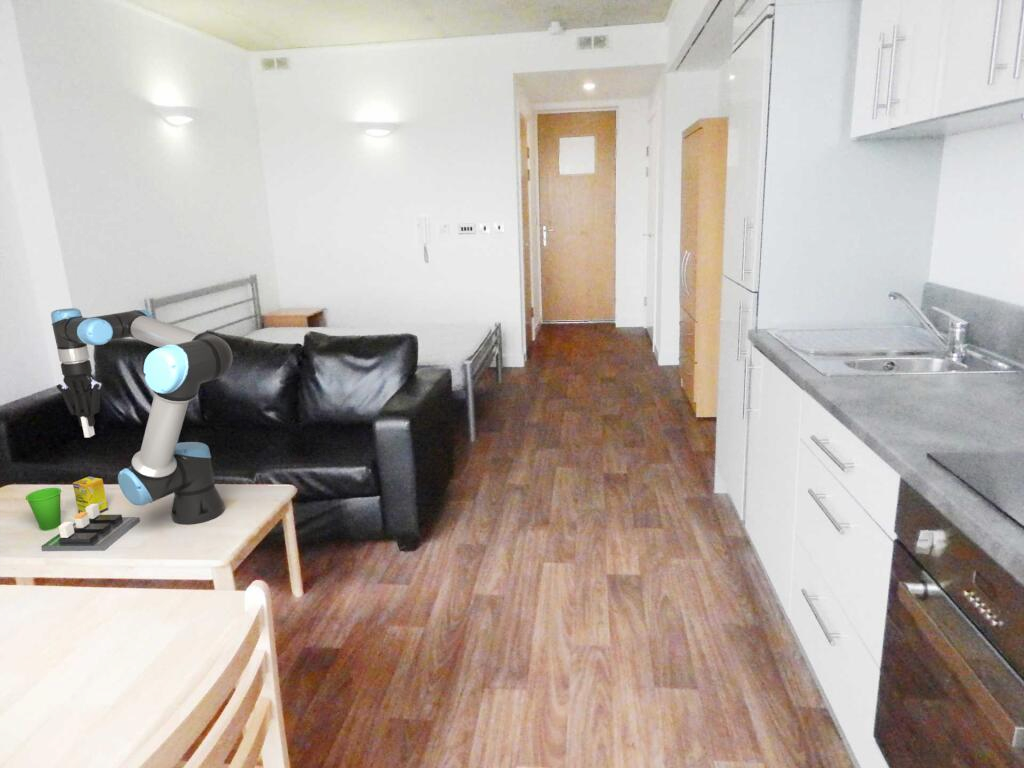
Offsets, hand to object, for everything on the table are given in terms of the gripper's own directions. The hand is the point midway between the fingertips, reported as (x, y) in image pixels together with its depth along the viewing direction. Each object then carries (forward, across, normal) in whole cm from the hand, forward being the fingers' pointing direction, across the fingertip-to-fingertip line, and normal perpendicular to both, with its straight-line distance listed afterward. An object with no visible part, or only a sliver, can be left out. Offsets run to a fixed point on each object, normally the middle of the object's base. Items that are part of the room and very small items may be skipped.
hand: (89, 435), depth 207 cm
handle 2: (+23, -2, +8) cm, 25 cm away
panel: (+26, -5, +14) cm, 30 cm away
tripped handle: (+23, -3, +14) cm, 27 cm away
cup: (+27, +12, +8) cm, 30 cm away
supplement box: (+27, +5, -2) cm, 27 cm away
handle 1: (+23, -2, +20) cm, 31 cm away
